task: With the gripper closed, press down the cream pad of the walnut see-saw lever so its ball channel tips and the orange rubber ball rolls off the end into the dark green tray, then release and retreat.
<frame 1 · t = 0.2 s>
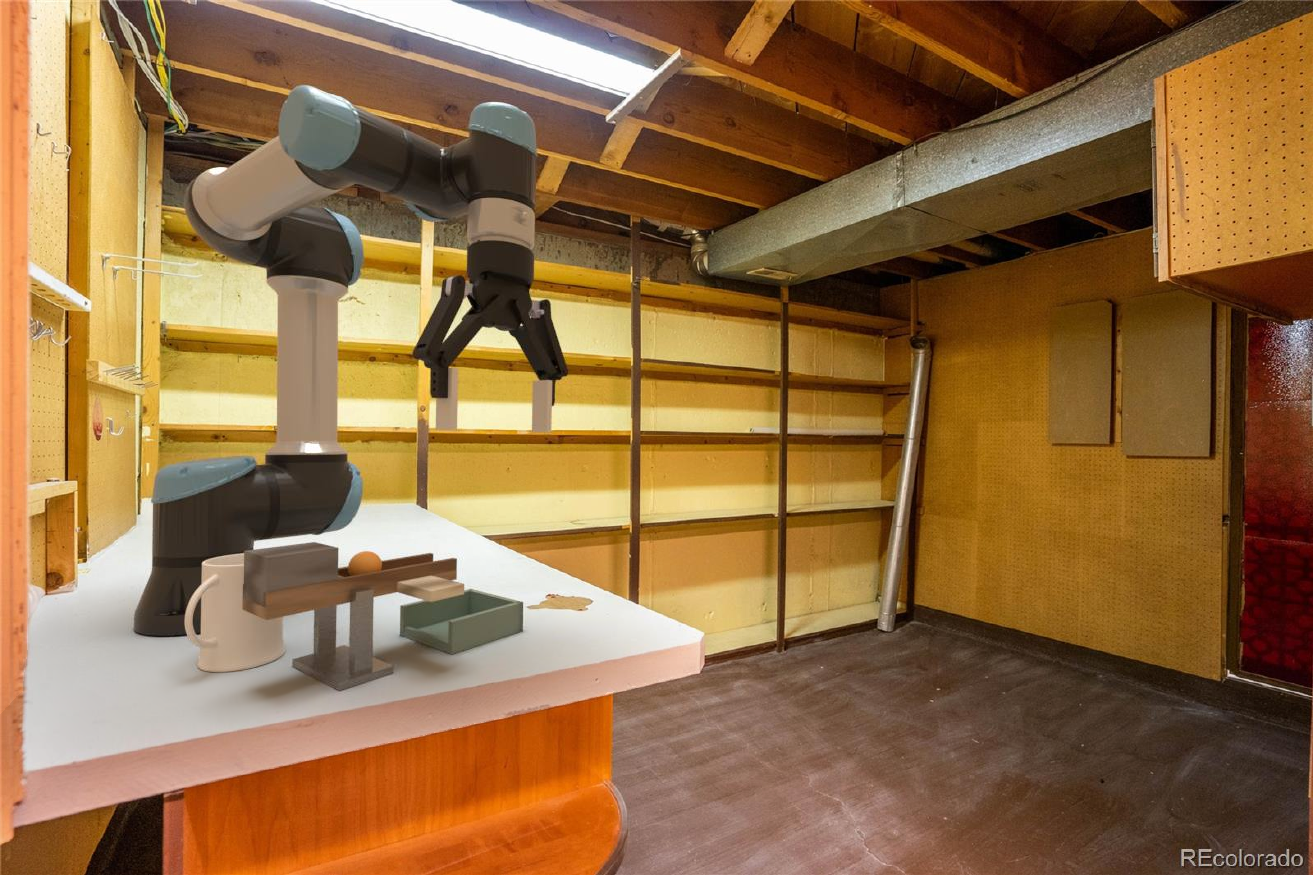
hand: (497, 432, 68), 28 cm above the table, fingers open, 13 cm apart
mug: (230, 665, 69), on the table
tray: (462, 632, 80), on the table
ball: (365, 566, 69), point 11 cm above the table, touching lever
lever: (375, 570, 67), point 12 cm above the table, hinge at 0.0°, touching ball
stand: (350, 673, 66), on the table
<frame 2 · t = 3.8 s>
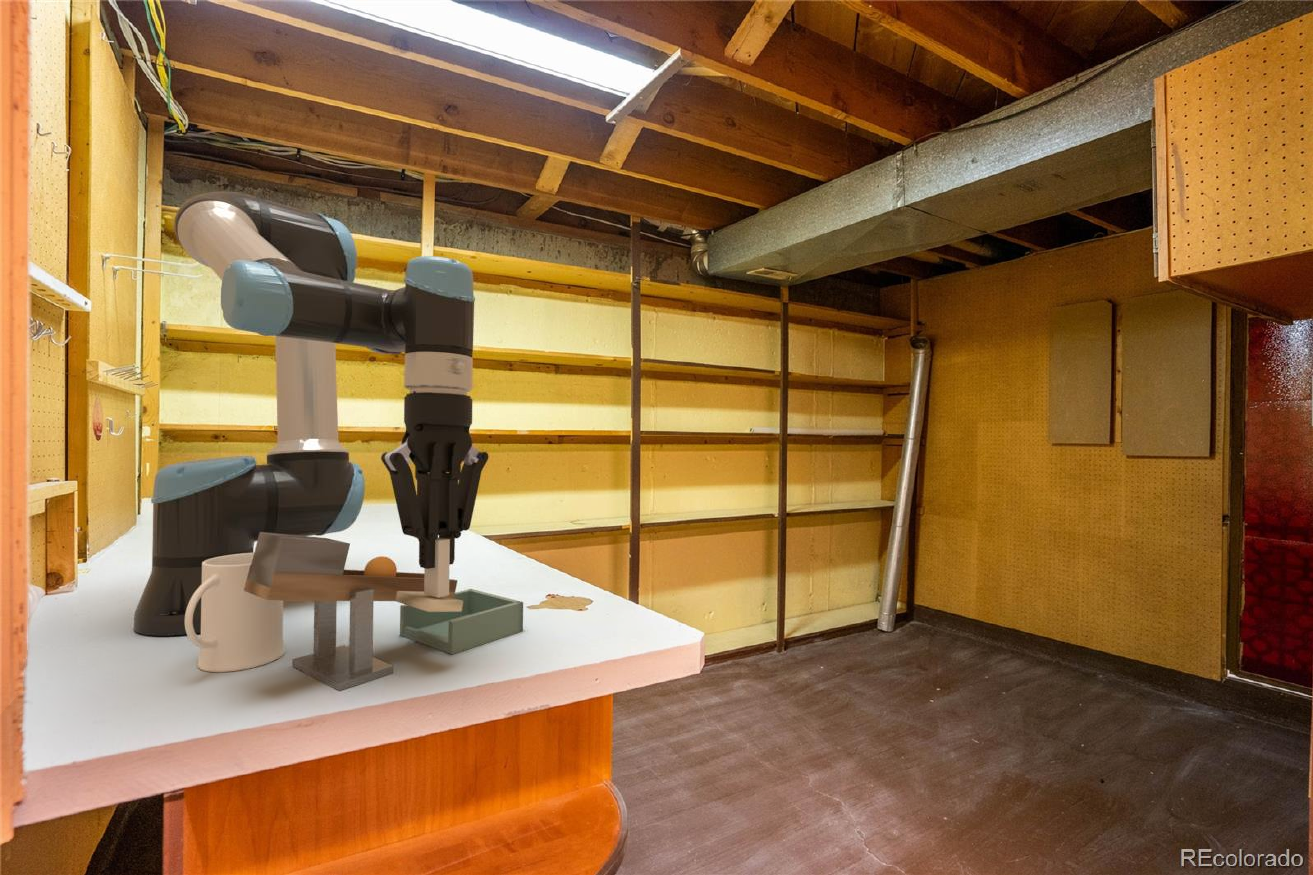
hand: (436, 594, 69), 8 cm above the table, fingers closed
ball: (380, 571, 71), point 10 cm above the table, tilted 59°, touching lever
lever: (380, 574, 67), point 11 cm above the table, hinge at -12.6°, touching ball, gripper
everything else where it was.
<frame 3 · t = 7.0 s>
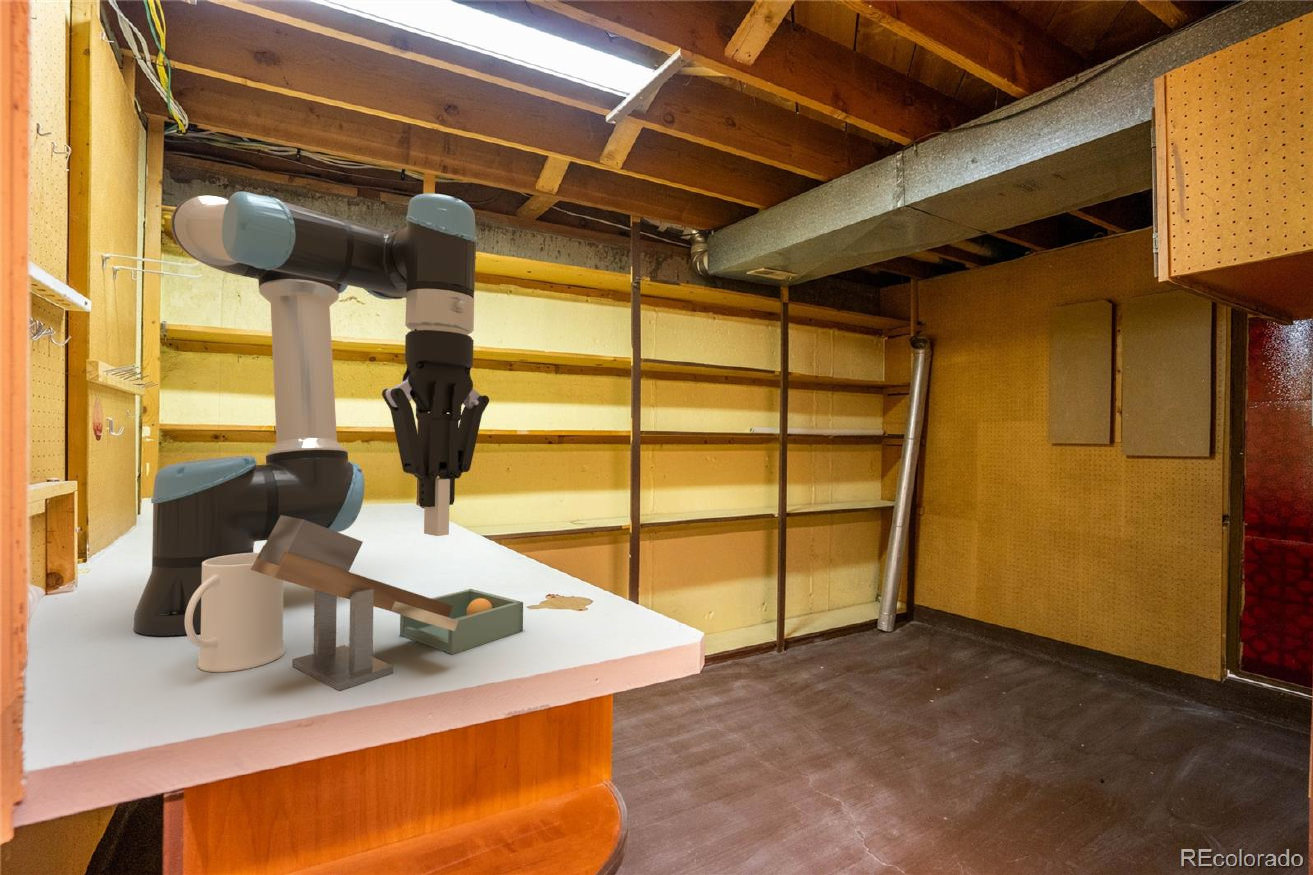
hand: (436, 533, 69), 15 cm above the table, fingers closed
ball: (479, 611, 83), point 2 cm above the table, tilted 126°, touching tray
lever: (383, 579, 68), point 10 cm above the table, hinge at -26.6°
everything else where it was.
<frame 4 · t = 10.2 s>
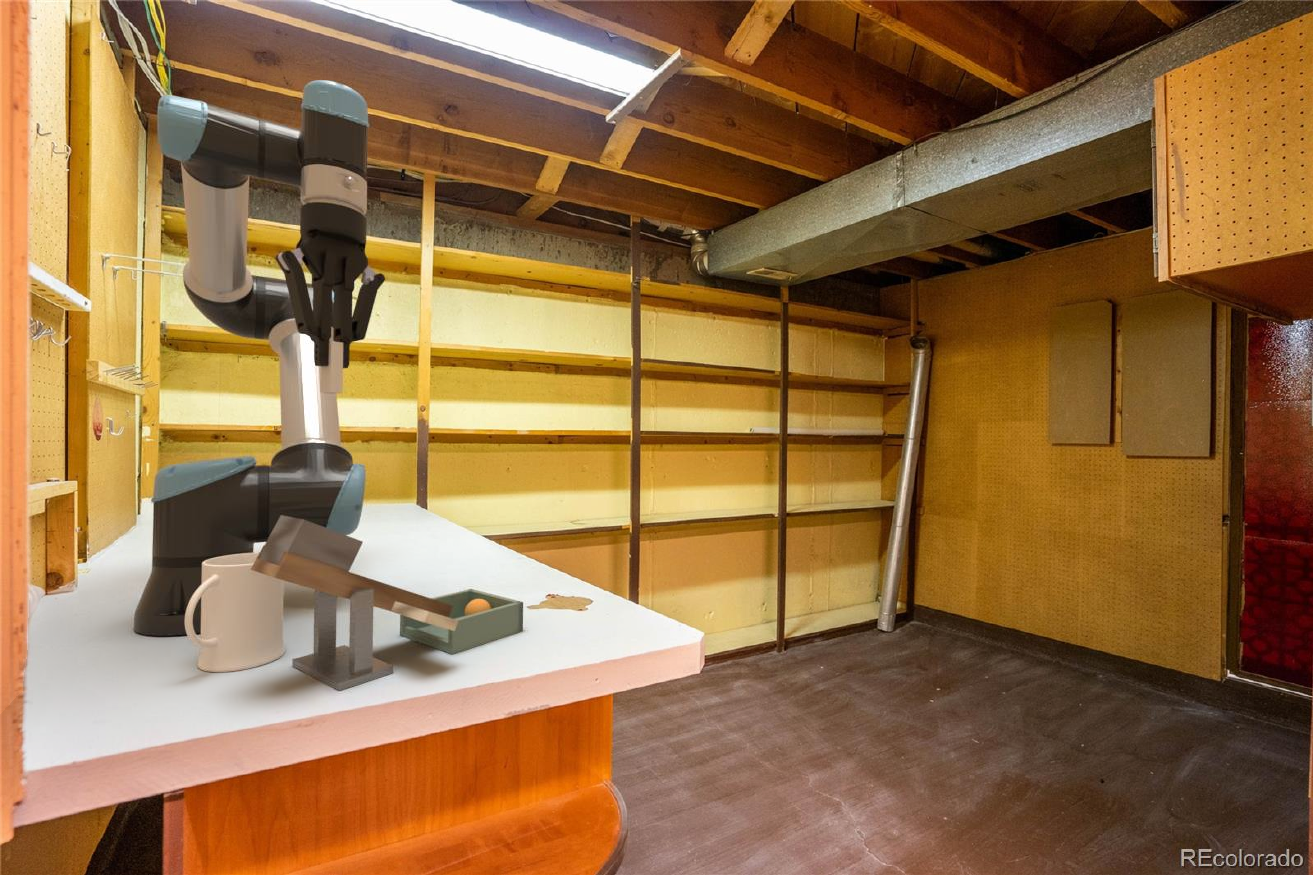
hand: (331, 392, 76), 32 cm above the table, fingers closed
ball: (477, 611, 83), point 2 cm above the table, tilted 136°, touching tray
everything else where it was.
at the end: ball inside the target area on the tray (2.5 cm from its centre), point 2.3 cm above the tray's base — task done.
